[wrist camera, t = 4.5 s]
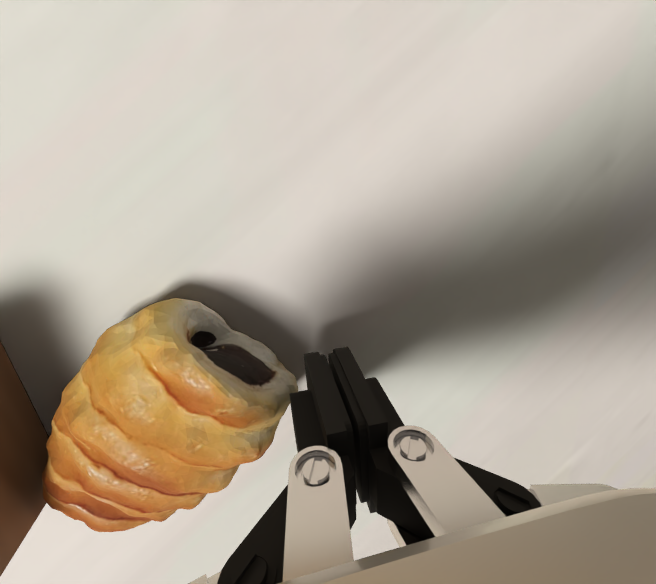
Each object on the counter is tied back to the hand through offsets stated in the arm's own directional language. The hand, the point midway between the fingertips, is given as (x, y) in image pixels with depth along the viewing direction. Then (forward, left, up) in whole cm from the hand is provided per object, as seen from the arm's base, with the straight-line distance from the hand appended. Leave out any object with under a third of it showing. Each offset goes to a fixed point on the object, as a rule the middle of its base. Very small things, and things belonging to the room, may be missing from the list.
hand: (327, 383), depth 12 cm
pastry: (+6, +1, -2) cm, 6 cm away
